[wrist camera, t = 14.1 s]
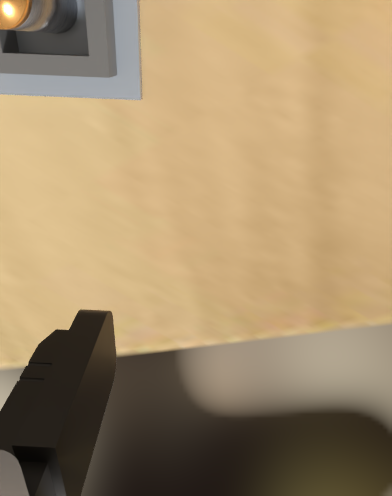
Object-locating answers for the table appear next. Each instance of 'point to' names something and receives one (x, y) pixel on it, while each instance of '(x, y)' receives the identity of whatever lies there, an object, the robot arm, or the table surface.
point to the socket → (78, 55)
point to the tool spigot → (38, 15)
